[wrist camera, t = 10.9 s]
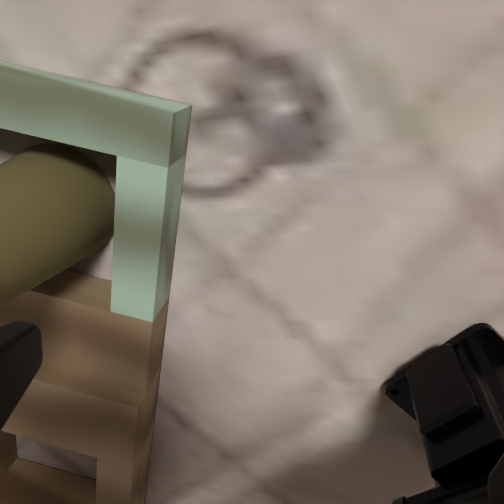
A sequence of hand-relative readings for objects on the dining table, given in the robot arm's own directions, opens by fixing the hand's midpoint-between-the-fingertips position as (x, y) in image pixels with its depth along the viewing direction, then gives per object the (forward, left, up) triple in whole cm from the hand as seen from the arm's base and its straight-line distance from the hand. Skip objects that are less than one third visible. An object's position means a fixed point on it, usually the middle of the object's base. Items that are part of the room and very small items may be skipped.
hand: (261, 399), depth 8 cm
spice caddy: (+4, +17, -13) cm, 21 cm away
